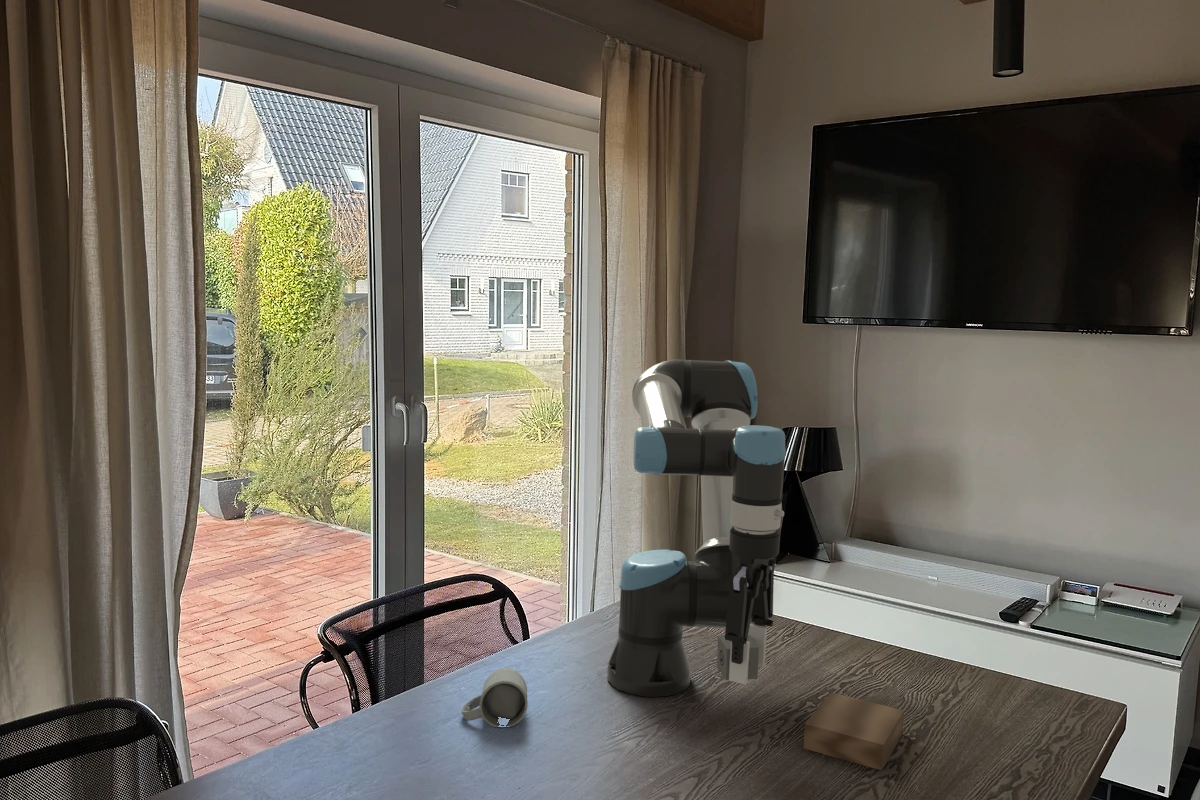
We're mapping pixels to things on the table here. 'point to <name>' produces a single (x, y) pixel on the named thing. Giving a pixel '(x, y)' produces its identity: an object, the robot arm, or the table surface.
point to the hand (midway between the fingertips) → (747, 673)
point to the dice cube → (724, 658)
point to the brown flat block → (854, 730)
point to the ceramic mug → (499, 699)
